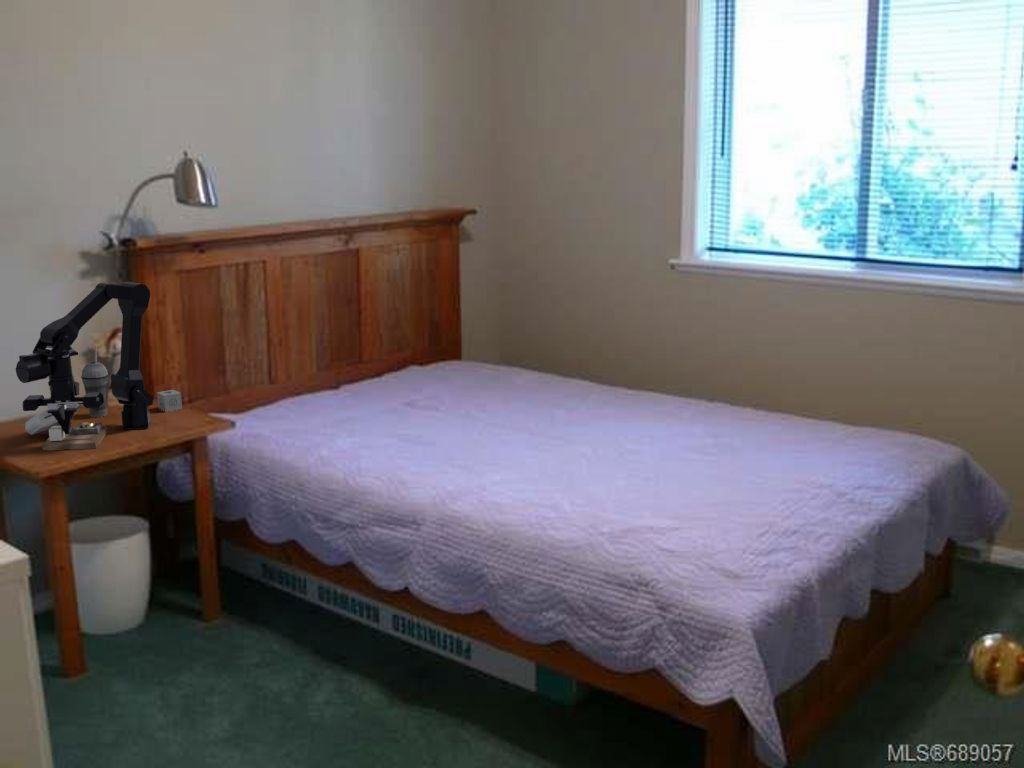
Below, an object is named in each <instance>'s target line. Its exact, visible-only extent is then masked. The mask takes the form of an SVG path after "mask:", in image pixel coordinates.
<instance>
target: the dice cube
mask: <svg viewBox="0 0 1024 768" xmlns="http://www.w3.org/2000/svg"><path fill="white" fill-rule="evenodd" d="M156 395H157V396H156V397H157V408H160V409H162V410H164V411H171V412H174V411H173V410H176V411H180V409H182V410H183V405H182V404H183V403H182V401H183V400H182V393H181V392H180V391H177V390H175V389H170V390H164V391H158V392H156ZM160 409H159V410H160ZM178 409H179V410H178ZM162 410H161V411H162ZM164 411H163V412H164Z"/></svg>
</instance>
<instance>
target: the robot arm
mask: <svg viewBox="0 0 1024 768" xmlns="http://www.w3.org/2000/svg"><path fill="white" fill-rule="evenodd" d="M113 299H115V300H117V303H118V306H119V309H120V312H121V314H122V323H121V324H122V325H121V327H122V328H121V344H120V358H119V360H120V362H119V369H118V370H117V371H116V373H111V374H110V386H109V389H110V390H111V394H112V395H113V396H114V398H115V399H116V400H117V402H118V404H119V405H122V410H121V411H120V413H121V424H122V426H123V428H122V430H145V429H149V427H150V425H151V424H152V422H153V421H152V420H151V415H150V406H152V405H153V403H154V399H155V397H154V396H152V395H151V394H150V393H149V392H148V391H146V390H145V381H144V377H143V375H142V373H141V371H140V357H141V342H142V341H141V340H142V339H141V338H142V323H143V316H144V314H145V313H146V311H147V309H148V308H149V304H150V300H151V290H150V288H149V287H148V286H147V285H146V284H145V283H144V284H143V283H137V282H131V281H125V282H122V283H121V284H113V283H108V282H99V283H98V284H96V286H95V287H94V289H93V290H92V291H90V293H89V294H88V295H86V296H85V297H84V298H83V299H81V301H80V302H79V303H78V304H77V305H76V306H74V308H72V309H71V310H70V311H69V312H68V313H67V314H65V316H63V317H61V318H58V319H55V320H54V321H52V322H51V323H48V324H47V325H46V326H44V327H42V330H41V331H40V332H39V333H40V334H39V335H40V336H39V338H38V340H37V343H36V344H35V346H34V348H33V350H32V353H31V354H23V355H18V359H19V360H18V361H17V362H16V367H15V373H16V377H17V379H18V380H19V381H20V382H21V383H23V384H26V383H27V384H28V383H31V382H37V381H40V380H45V379H47V378H48V382H47V383H48V384H47V385H48V387H49V391H50V392H49V394H50V397H49V398H45V396H44V394H34V395H33V394H31V395H28V396H27V397H26V398H25V399H24V400H23V401H22V404H21V405H22V411H24V412H31V411H33V412H34V411H37V409H38V408H39V407H46V406H47V409H48V411H47V412H48V413H51V414H52V415H53V416H54V417H55V418H56V420H57V421H58V423H59V424H60V425H59V426H61V427H62V429H63V431H64V432H65V434H68V433H69V430H70V426H72V424H71V422H72V423H73V418H74V415H75V413H76V412H77V411H78V410H79V409H80V408H81V406H83V407H84V408H86V409H89V408H98V407H100V406H101V405H102V404H103V402H104V398H103V394H102V393H101V392H95V393H85V394H84V396H79V395H80V383H79V382H77V381H75V377H74V375H73V367H72V357H75V356H78V355H79V352H78V351H77V350H75V349H73V347H72V345H73V344H74V342H75V341H76V340H77V338H78V336H79V332H80V330H81V329H82V328H83V327H84V326H85V325H86V324H87V323H88V322H89V321H90V320H91V319H92V318H93V317H94V316H95V315H96V314H98V312H99V311H101V309H102V308H104V307H105V306H106V305H107V304H108V303H109V302H110V301H111V300H113ZM64 405H66V406H67V408H66V409H64Z"/></svg>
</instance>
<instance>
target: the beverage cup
mask: <svg viewBox="0 0 1024 768" xmlns="http://www.w3.org/2000/svg"><path fill="white" fill-rule="evenodd" d="M97 349H98V347H97V346H94V361H90V362H87V364H85V365H84V366H83V368H82V370H81V376H80V378H81V381H82V383H83V387H84V392H85V394H86V393H95V392H101V393H102V394H103V398H104V402H103V404H102V405H101V406H100V407H98V408H88V411H89V416H91V417H90V418H94V417H98V418H103V416H104V417H106V415H107V416H108V380H109V373H108V369H107V367H106V366H105V365H104V364H103V363H101V362H98V360H97V359H98V358H97V357H98V352H97V351H98V350H97Z"/></svg>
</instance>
